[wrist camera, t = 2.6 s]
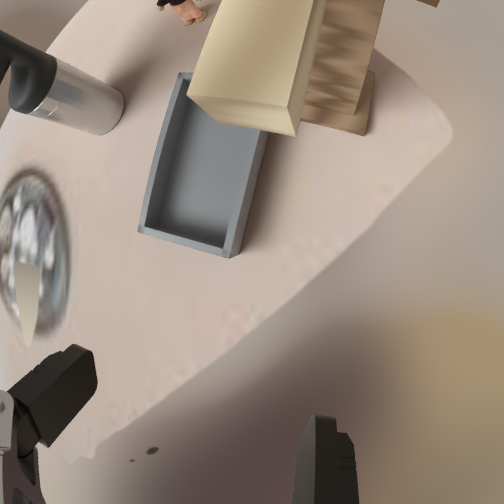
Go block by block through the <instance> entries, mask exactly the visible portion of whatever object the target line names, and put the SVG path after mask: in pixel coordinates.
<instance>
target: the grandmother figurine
mask: <svg viewBox="0 0 504 504" xmlns="http://www.w3.org/2000/svg"><path fill="white" fill-rule="evenodd" d="M197 1H201V0H197ZM168 3H170V5H171V7H172V8H173V10H174V11H175V12H176V14H177V15H179V16H180V17H181V19H182V20H184V24H185V25H190V24H192V22H193V18H196V22H201V21H203V20H204V18H205V16H206V15H207V12H206V11H200V10H199V8H198V7H197V6H196V5H195V4H194V2H193V1H192V0H158V3H157V6H158V10H159V11H163V10H164V5H166V4H168Z"/></svg>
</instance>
